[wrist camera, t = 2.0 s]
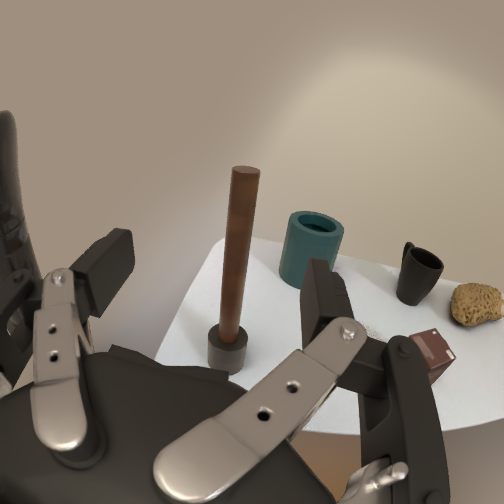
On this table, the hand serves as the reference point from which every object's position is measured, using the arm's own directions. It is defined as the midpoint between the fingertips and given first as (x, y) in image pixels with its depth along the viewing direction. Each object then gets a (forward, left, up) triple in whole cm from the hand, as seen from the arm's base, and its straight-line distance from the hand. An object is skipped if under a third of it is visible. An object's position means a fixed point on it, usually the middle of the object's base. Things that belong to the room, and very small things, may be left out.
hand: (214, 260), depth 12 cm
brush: (-2, +11, -23) cm, 25 cm away
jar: (+4, +35, -23) cm, 42 cm away
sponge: (+45, +37, -23) cm, 62 cm away
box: (+24, +16, -23) cm, 36 cm away
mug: (+26, +39, -23) cm, 52 cm away
